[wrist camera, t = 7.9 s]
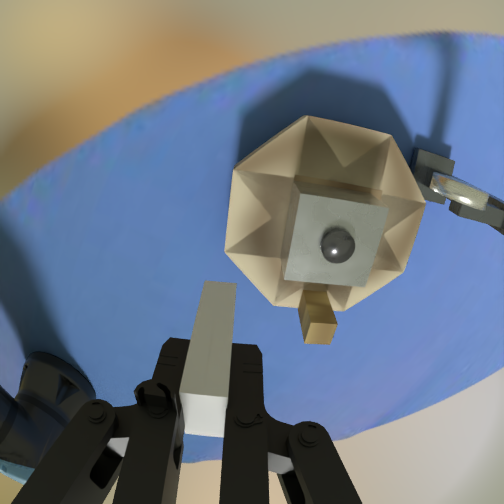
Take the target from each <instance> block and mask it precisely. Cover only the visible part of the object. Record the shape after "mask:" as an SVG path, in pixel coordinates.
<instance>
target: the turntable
mask: <svg viewBox="0 0 504 504" xmlns="http://www.w3.org/2000/svg"><path fill="white" fill-rule="evenodd" d="M293 181H300V182H307V183H313V184H320V185H326V186H332V187H338V188H343V189H349V190H355V191H360V192H365V193H370V194H372V195H373V196H375V197H376V198H377V199H378V200H380V201H381V202H382V203H383V204H385V205H386V206H387V207H388V208H389V211H388V215H387V218H386V222H385V226H384V229H383V233H382V236H381V239H380V243H379V246H378V249H377V253H376V256H375V259H374V262H373V265H372V268H371V271H370V274H369V277H368V280H367V283H366V286H365V287H356V286H345V285H334V284H323V283H312V282H301V281H291V280H284V277H283V271H282V265H281V259H280V254H281V249H282V243H283V238H284V232H285V226H286V221H287V215H288V209H289V203H290V197H291V191H292V185H293ZM425 205H426V202H425V200H424V198H423V196H422V194H421V191H420V189H419V187H418V185H417V183H416V181H415V179H414V177H413V175H412V173H411V171H410V169H409V167H408V165H407V163H406V161H405V159H404V157H403V155H402V153H401V151H400V149H399V148H398V146H397V144H396V142H395V140H394V139H393V137H392V135H389V134H385V133H382V132H378V131H374V130H371V129H367V128H363V127H359V126H355V125H350V124H346V123H342V122H337V121H333V120H328V119H323V118H318V117H313V116H307V115H303V116H302V117H300V118H299V119H298V120H296V121H295V122H293V123H292V124H290V125H289V126H288V127H286V128H285V129H283V130H282V131H280V132H279V133H278V134H276V135H275V136H273V137H272V138H271V139H269V140H268V141H267V142H265V143H264V144H262V145H261V146H260V147H258V148H257V149H256V150H254V151H253V152H252V153H250V154H249V155H248V156H246V157H245V158H244V159H242V160H241V161H240V162H238V163H237V164H236V165H235V166H234V169H233V176H232V185H231V194H230V203H229V212H228V222H227V232H226V242H225V253H226V254H227V255H228V256H229V258H230V259H231V260H232V261H233V262H234V263H235V264H236V265H237V266H238V268H239V269H240V270H241V271H242V272H243V273H244V274H245V275H246V276H247V277H248V279H249V280H250V281H251V282H252V283H253V284H254V285H255V286H256V287H257V288H258V289H259V291H260V292H261V293H262V294H263V295H264V296H265V297H266V298H267V299H268V300H269V301H270V303H271V304H272V305H273V306H282V307H294V308H298V313H299V318H300V323H301V328H302V334H303V339H304V343H307V344H328V345H330V343H331V341H332V338H333V335H334V333H335V330H336V327H337V325H338V324H337V321H336V318H335V315H334V312H333V311H345V310H347V309H348V308H350V307H352V306H353V305H355V304H356V303H358V302H360V301H361V300H363V299H364V298H366V297H367V296H369V295H370V294H372V293H374V292H375V291H377V290H378V289H380V288H381V287H383V286H384V285H386V284H387V283H389V282H390V281H392V280H393V279H395V278H396V277H397V276H399V275H400V274H402V273H403V272H404V270H405V267H406V264H407V261H408V259H409V256H410V253H411V250H412V247H413V244H414V241H415V238H416V235H417V232H418V229H419V225H420V222H421V219H422V216H423V212H424V209H425Z"/></svg>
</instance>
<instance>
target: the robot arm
mask: <svg viewBox="0 0 504 504" xmlns="http://www.w3.org/2000/svg"><path fill="white" fill-rule="evenodd" d="M236 285H237V283H227V282H215V281H205V282H204V286H203V290H202V294H201V298H200V302H199V307H198V311H197V315H196V319H195V323H194V327H193V332H192V336H191V340H188V339H179V338H171V337H170V338H169V339H168V340H167V341H166V342H165V343H164V344H163V345H162V348H161V351H160V354H159V358H158V361H157V365H156V367H155V370H154V374H153V377H152V379H150V380H147V381H143V382H142V383H140V384H139V385H138V386H137V387H136V389H135V390H134V394H135V397H136V400H137V404H135V405H131V406H123V407H112V405H111V404H110V403H108V402H107V401H104V400H101V399H96V395H95V392H94V390H93V388H92V386H91V385H90V384H89V382H88V381H87V380H86V379H85V378H84V377H83V376H82V375H81V374H80V373H79V372H78V371H77V370H75V369H74V368H73V367H72V366H70V365H69V364H67V363H66V362H64V361H62V360H61V359H59V358H57V357H55V356H52V355H50V354H47V353H43V352H34V353H32V354H31V355H30V356H29V357H28V359H27V360H26V362H25V364H24V366H23V371H22V376H21V381H20V386H19V391H18V393H17V395H16V397H15V398H13V397H12V396H11V395H10V394H9V393H8V392H7V391H6V390H5V389H4V388H3V387H2V386H1V385H0V472H1V473H3V474H4V475H6V476H8V477H10V478H12V479H14V480H15V481H18V482H19V483H21V484H23V485H24V486H23V487H22V488H21V490H20V491H19V493H18V495H17V496H16V497H15V499H14V500H13V502H12V503H11V504H102V503H103V502H104V500H105V498H106V497H107V495H108V493H109V492H110V490H111V488H112V486H113V485H114V483H115V481H116V480H117V478H118V476H119V478H118V482H117V486H116V490H115V494H114V499H113V503H112V504H176V497H177V489H178V482H179V474H180V468H181V461H182V454H183V448H184V445H183V435H184V429H185V433H186V434H194V435H203V436H213V437H224V440H223V454H222V470H221V485H220V500H219V504H269V478H268V477H269V476H268V471H272V472H275V473H277V476H278V478H279V481H280V484H281V487H282V490H283V493H284V495H285V498H286V501H287V503H288V504H362V502H361V500H360V498H359V496H358V494H357V492H356V489H355V488H354V485H353V483H352V481H351V479H350V477H349V475H348V473H347V471H346V469H345V467H344V465H343V463H342V461H341V459H340V457H339V455H338V453H337V450H336V448H335V446H334V444H333V442H332V440H331V438H330V436H329V434H328V432H327V431H326V429H325V428H324V427H323V426H321V425H320V424H318V423H315V422H311V421H304V422H300V423H298V424H295V425H294V426H293V425H290V424H286V423H283V422H280V421H277V420H275V419H274V418H272V417H271V416H270V415H269V414H268V413H267V411H266V409H265V407H264V393H263V366H262V353H261V351H260V350H259V348H258V346H257V345H252V344H238V343H232V337H233V324H234V311H235V298H236Z"/></svg>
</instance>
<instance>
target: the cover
mask: <svg viewBox="0 0 504 504" xmlns="http://www.w3.org/2000/svg"><path fill="white" fill-rule="evenodd" d="M388 211H389V208H388V207H387V206H386V205H385V204H383V203H382V202H381V201H380V200H378V199H377V198H376V197H375V196H373V195H372V194H370V193H365V192H360V191H355V190H349V189H343V188H338V187H332V186H326V185H320V184H313V183H307V182H300V181H293V185H292V191H291V197H290V203H289V209H288V215H287V221H286V226H285V232H284V238H283V243H282V249H281V254H280V259H281V265H282V271H283V277H284V280H291V281H301V282H312V283H323V284H334V285H345V286H356V287H365V286H366V283H367V280H368V277H369V274H370V271H371V268H372V265H373V262H374V259H375V256H376V253H377V249H378V246H379V243H380V239H381V236H382V233H383V229H384V226H385V222H386V218H387V215H388Z"/></svg>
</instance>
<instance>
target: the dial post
mask: <svg viewBox="0 0 504 504" xmlns="http://www.w3.org/2000/svg"><path fill="white" fill-rule="evenodd" d="M454 164H455V161H453V160H451V159H448V158H445V157H442V156H439V155H436V154H434V153H431V152H427V151H424V150H421V149H418V148H414V153H413V158H412V162H411V167H410V171H411V173H412V175H413V177H414V179H415V181H416V183H417V185H418V187H419V189H420V191H421V194H422V196H423V198H424V200H428V201H432V202H436V203H440V204H444V203H445V200H446V198H447V199H449V200H451V203H450V206H449V210H450V211H451V212H453V213H454V214H456V215H457V216H460V217H463V218H467V219H471V220H475V221H478V222H482V223H486V224H488V225H490V226H491V227H493V228H494V229H496V230H497V231H499V232H500V233H501V234H503V235H504V201H502V200H500V199H499V198H497V197H495V196H493V195H491V194H489V193H487V192H485V191H483V190H481V189H479V188H477V187H475V186H473V185H471V184H469V183H467V182H465V181H463V180H461V179H459V178H457V177H454V176H452V173H453V168H454Z"/></svg>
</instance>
